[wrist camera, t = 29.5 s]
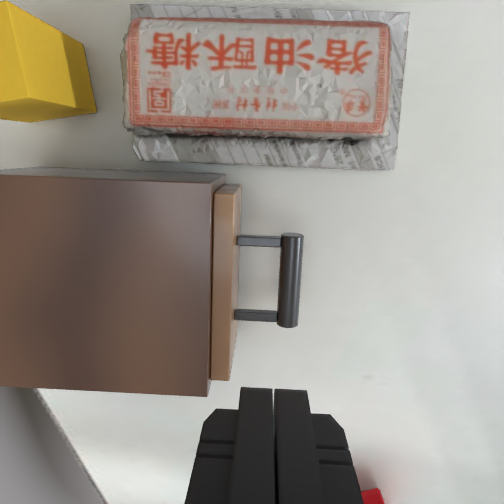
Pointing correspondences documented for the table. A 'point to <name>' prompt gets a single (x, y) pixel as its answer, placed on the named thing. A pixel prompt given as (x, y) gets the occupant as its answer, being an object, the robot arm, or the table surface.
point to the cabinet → (106, 280)
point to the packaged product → (264, 85)
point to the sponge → (40, 70)
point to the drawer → (228, 277)
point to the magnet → (372, 496)
